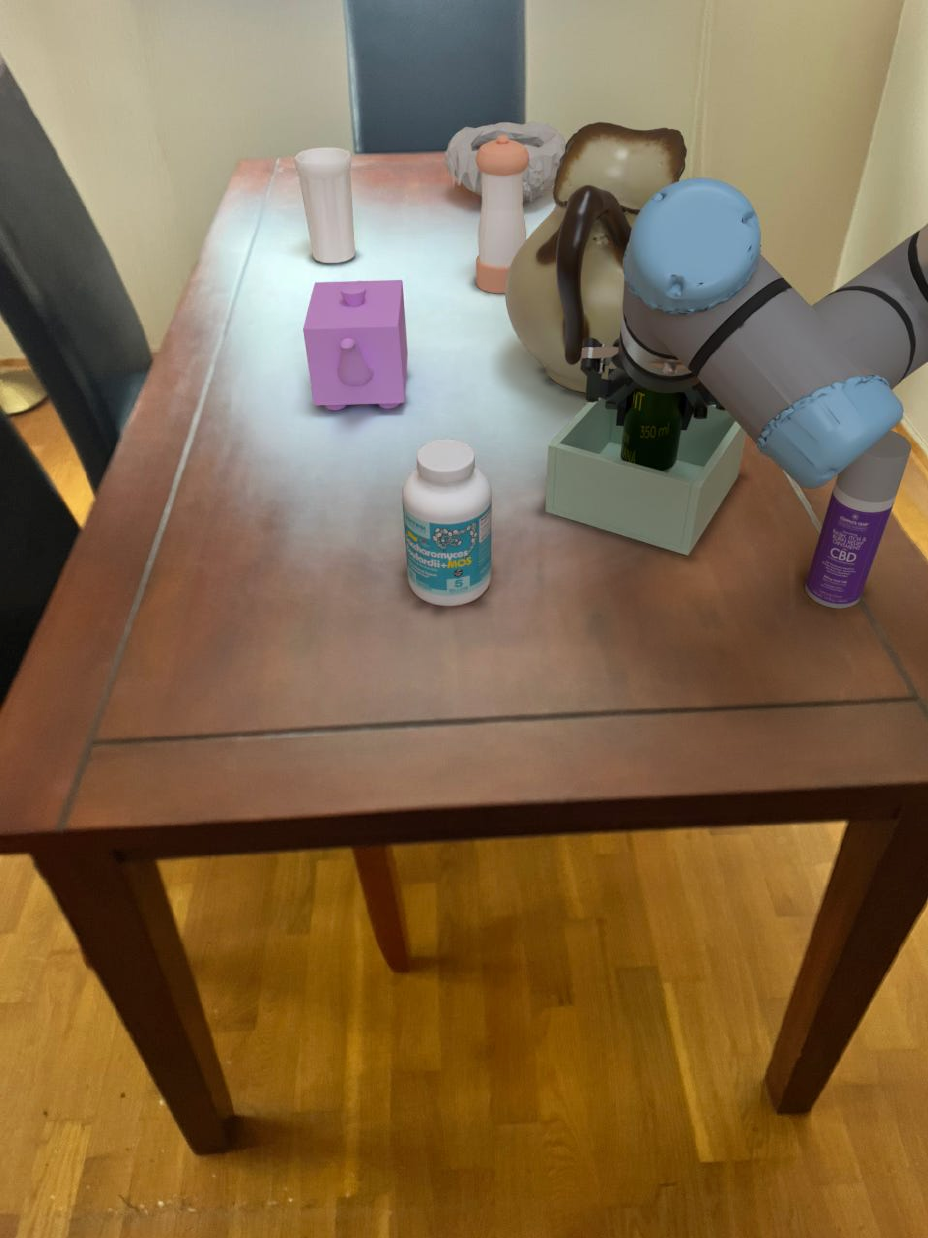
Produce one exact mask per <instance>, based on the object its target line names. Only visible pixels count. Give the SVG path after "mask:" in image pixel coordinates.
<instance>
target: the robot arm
mask: <svg viewBox="0 0 928 1238" xmlns="http://www.w3.org/2000/svg"><path fill="white" fill-rule="evenodd" d="M761 241H762V231H761V228H760V221H759V218H758V214H757V211H756V210H755V208H754V206H753V205H752V203H751V201H750V200H749V199H748V197H747V196H746V195H745V194H744V193H743V192H742V191H741V190H739V189H738V188H736V187H734V186H733V185H731V184H729V183H728V182H725V181H722V180H719V179H717V178H712V177H689V178H685V179H682V180H681V179H680V180H679V181H678V182H675V183H673V184H670V185H668V186H666V187H665V188H663V189H661V190H660V191H659V192H657V193H656V194H654V195H653V196H652V197H651V198H650V199H649V201H648V202H647V203H646V204H645V205H644V206H643V208H642V209H641V210H640V212H639V214H638V215H637V217H636V219H635V222H634V224H633V227H632V230H631V235H630V239H629V243H628V244H627V248H626V250H625V253H624V257H623V268H624V270H623V273H624V293H623V302H622V314H621V327H620V338H618V339H616V340H615V342H614V343H613V346H608V347H607V344H606V343H600V342H599V341H598V340H597V339H595V338H585V339H583V346H582V356H581V365H580V370H581V371H582V372H583V373H584V374H585V375H586V376H587V383H586V393H585V397H584V398H585V399H584V400H585V401H586V402H587V403H588V402H592V403H593V402H597V401H599V398H602V399H605V408H606V409H612V410H617V419H616V426H624V417H625V411H626V402H627V396H628V395H630V394H631V393H632V392H633V391H634V390H635V389H637V390H642V389H643V388H646V389H648V390H651V391H655V392H659V393H675V392H684V393H685V395H686V401H685V408H684V414H683V421H682V427H681V430H686V431H687V428H688V425H689V423H690V420H691V418H692V415H693V418H696V419H706V418H707V412H708V406H710V405H716V409H718V410H721V411H725V410H727V411H728V413H729V414H730V415H731V416H732V417H733V418H734V419H735V420H736V422H737V423H738V424H739V425H740V426H741V427H742V428H743V429H744V431H745V432H746V433H747V435H748V437H749V438H750V439H751V440H752V441H753V442H754V443H755V444H756V445H757V446H756V447H757V449H758V450H759V452H760V453H761V454H762V455H763V456H764V455H765V456H766V457H768V458H770V460H772V461H773V462H774V463H775V464H776V466H778V467H780V469H781V470H782V471H783V472H785V474H787V475H788V476H789V477H790V479H792V480H793V481H794V482H795V483H796V484H797V485H798V486H800V487H801V488H803V489H807V490H814V489H819V488H822V487H824V486H825V485H827V484H828V483H829V482H830V481H832V480H833V479H834V478H836V477H837V476H838V474H839V473H840V472H841V471H843V470H844V469H845V468H846V467H847V466H849V465H850V464H851V463H852V462H854V461H855V460H856V459H857V458H858V457H860V456H861V455H862V454H863V453H864V452H866V451H867V450H868V449H869V448H870V447H872V446H873V445H874V444H875V443H876V442H878V441H879V440H880V439H881V438H882V437H883V436H885V435H886V434H887V433H888V432H889V431H890V430H891V431H893V429H894V428H896V426H897V425H899V423H900V422H901V421H902V420H903V418H904V412H905V409H904V406H903V402H902V401H901V400H900V399H899V398H898V396H897V395H896V393H894V391H893V390H894V389H895V388H896V387H897V386H898V385H899V384H900V383H901V382H902V381H903V380H905V379H906V378H908V377H909V376H910V375H912V374H913V373H914V372H916V371H917V370H918V369H920V368H921V367H922V366H924V365H925V364H927V363H928V222H927V223H926V224H925V225H924V226H923V227H922V228H920V229H918V230H917V231H915V232H914V233H913V234H911V235H910V236H908V237H907V238H906V239H904V240H903V241H902V242H900V243H899V244H897V245H896V246H895V247H893V248H892V249H891V250H890V251H888V252H887V253H885V254H884V255H883V256H882V257H880V258H879V259H878V260H876V261H874V263H872V264H871V265H869V267H867V268H865V269H864V270H862V271H861V272H860V273H858V274H857V275H855V276H854V277H852V278H851V279H850V280H849V281H846V282H845V283H844V284H843V285H841V286H840V287H839V288H837V289H835V290H834V291H832V292H830V293H829V294H826V295H825V296H823V298H821V299H820V300H818V301H816V302H814V303H813V304H812V305H811V304H810V303H809V302H808V301H807V300H806V299H805V298H804V297H803V296H802V295H801V294H800V292H798V291H797V289H795V288H794V287H793V286H792V285H791V284H790V282H788V281H787V280H786V279H785V278H784V276H783V275H782V274H781V273H780V272H779V271H778V270H777V269H776V268H775V267H774V266H773V265H772V264H771V263H770V262H769V261H768V260H767V259H766V258H765V257H764V256H763V255H762V254H761V253H762V249H761V247H762V244H761ZM610 362H612V363H613V364H614V365H615V366H616V367H617V368H616V369H610V368H609V370H608V380H607V379H602V374H604V373H605V366H608V365H609V363H610Z"/></svg>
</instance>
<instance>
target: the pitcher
mask: <svg viewBox="0 0 928 1238" xmlns="http://www.w3.org/2000/svg"><path fill="white" fill-rule="evenodd" d="M565 143H566V146H565V153H564V154H563V156H562V157H561V158H560V160H559V162H560V164H559V168H558V169H557V172H556V178H555V184H554V185H553V189H552V198H553V202H554V205H555V206H554V208H553V209H552V211H551V212H550V213H549V214H548V215H547V217H546V218H545V219H544V220H543V221H542V222H541V223H540V224H539V225H538V226H537V227H536V228H535V229H534V230H533V232H531V233H530V234H529V236H528V237H526V241H525V242H524V243H523V245H522V246H521V247H520V249H519V250H518V252H517V254H516V255H515V257H514V259H513V261H512V263H511V265H510V268H509V270H508V273H507V277H506V283H505V293H504V298H505V299H504V300H505V306H506V307H505V308H506V310H507V311H506V312H507V316H508V319H509V322H510V323H511V327H512V328H513V331H514V332H515V334H516V336H517V338H518V339H519V341H520V342H521V344H522V345H523V346H524V348H525V349H526V350H527V351H528V352H529V353H530V355H532V357H533V358H535V360H537V361H538V362H539V363H540V364H541V365H543V366H544V367H545V371H546V373H547V375H548V376H549V378H550V379H551V380H552V381H553V382H555V383H556V384H558V385H560V386H562V387H564V388H566V389H569V390H571V391H576V392H579V393H585V394H586V383H587V376H586V375H585V374H584V373H583V372H582V371H581V370H580V365H581V356H582V346H583V339H585V338H595V339H597V340H598V341H599V342H600V343H606V344H607V347H608V346H613V343H614V342H615V340H616V339H618V338H620V327H621V314H622V302H623V293H624V273H623V270H624V268H623V257H624V253H625V250H626V248H627V244H628V243H629V239H630V235H631V230H632V227H633V224H634V222H635V219H636V217H637V215H638V214H639V212H640V210H641V209H642V208H643V206H644V205H645V204H646V203H647V202H648V201H649V199H650V198H651V197H652V196H653V195H654V194H656V193H657V192H659V191H660V190H661V189H663V188H665V187H666V186H668V185H670V184H673V183H675V182H678V181H680V180H681V177H682V176H683V174H684V173H685V169H686V158H687V155H688V149H687V146H686V144H685V137H684V136H683V134H682V132H681V131H680V130H679V129H675V128H668V127H659V128H653V129H634V128H630V127H626V126H623V125H619V124H616V123H612V122H603V121H597V122H594V123H589V124H586V125H584V126H582V127H580V128H579V129H578V130H577V131H576V132H574V133H573V134H572V135H571V137H570V138H569V139H568V140H567V142H565ZM609 368H610V369H616V368H617V367H616V366H615V365H614V364H613V363H612V362H610V363H609V365H608V366H605V373H604V374H602V379H607V380H608V370H609Z"/></svg>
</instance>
